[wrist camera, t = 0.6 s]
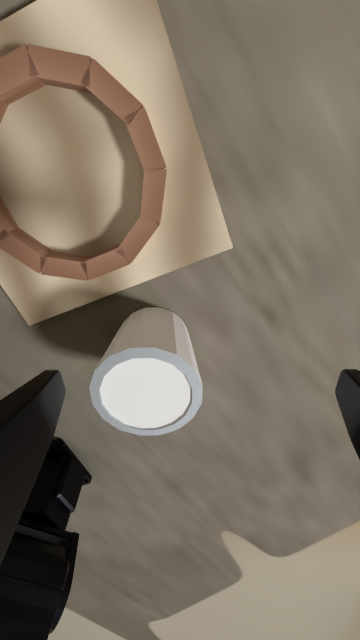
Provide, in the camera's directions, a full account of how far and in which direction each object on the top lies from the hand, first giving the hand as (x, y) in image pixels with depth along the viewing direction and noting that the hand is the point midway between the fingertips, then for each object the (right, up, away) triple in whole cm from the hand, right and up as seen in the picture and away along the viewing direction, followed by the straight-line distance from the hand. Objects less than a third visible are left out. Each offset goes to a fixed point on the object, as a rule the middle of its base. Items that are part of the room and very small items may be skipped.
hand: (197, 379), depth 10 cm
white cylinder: (-3, 0, +15) cm, 15 cm away
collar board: (-7, +11, +9) cm, 16 cm away
